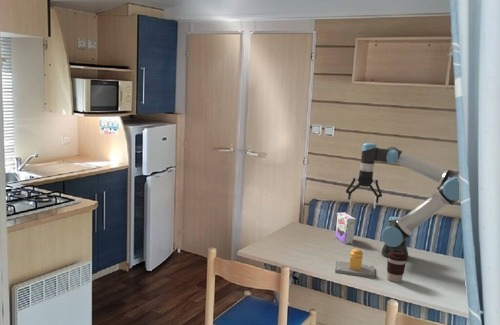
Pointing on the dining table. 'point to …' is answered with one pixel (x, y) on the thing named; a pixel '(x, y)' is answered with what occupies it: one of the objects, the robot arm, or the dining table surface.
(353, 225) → the candy box
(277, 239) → the dining table surface
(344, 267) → the plate
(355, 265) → the wire nut
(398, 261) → the coffee cup
